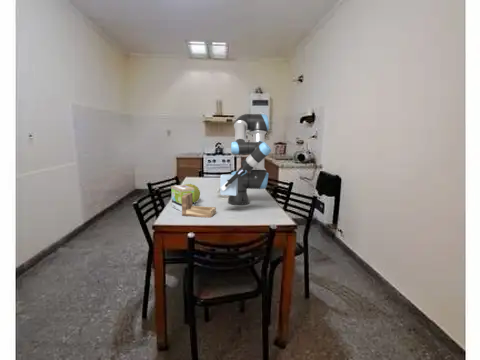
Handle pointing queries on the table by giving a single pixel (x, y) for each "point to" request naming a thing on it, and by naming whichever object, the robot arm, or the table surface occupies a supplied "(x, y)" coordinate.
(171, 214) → the table surface
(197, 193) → the fruit
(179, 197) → the tea box
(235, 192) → the pale blue rectangular block
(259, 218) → the table surface
